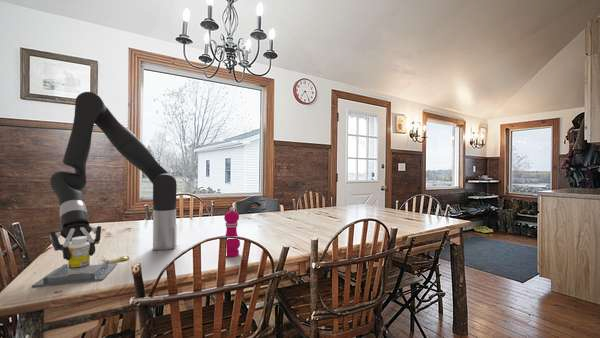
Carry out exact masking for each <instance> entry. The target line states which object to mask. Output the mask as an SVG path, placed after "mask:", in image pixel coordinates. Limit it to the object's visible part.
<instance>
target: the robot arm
mask: <svg viewBox="0 0 600 338" xmlns="http://www.w3.org/2000/svg"><path fill="white" fill-rule="evenodd" d="M72 124H73V125H72V128H71V133H70V135H69V136H70V137H69V139H68V143H67V146H66V150H65V152H64V156H63V159H62V163H63V164H64V165H65V166H67V167H70V168H73V169H74V172H68V171H56V172H54V173H53V174H52V175H51V177H50V178H49V183H50V187H51V189H52V191H53V192H54V194H55V196H56V198H58V203H59V220H60V226H61V230H60V231H57V232H55V231H52V232H50V234H49V240H50V242H51V244H52V247H53V249H54V251H62V258H63V260H65V261H68V260H69V259H70V254H69V247H68V246H69V245H70V244H71V243H72V242H71V241H72V238H74V237H79V236H86V237H87V242H89V243H90V257H91V256H94V254H95V253H96V246H95V245H98V244H99V243H100V241H101V236H102V235H101V233H102V226H100V225H97V227H93V226H91V225H90V221H89V220H90V219H89V215H88V214H89V213H88V211H87V206H86V203H85V198H84V194H83V192H82V190H84V189H85V187H86V186H87V172H86V171H87V162H88V158H89V155H90V149H91V146H92V145H91V144H92V136H93V130H94V126H95V125H96V126H97V127H98V128H99V129H100V130H101V131H102V132H103V133H104V135H105V136H106V138H107V139H108V141H109V142H110V144H111V145H112V146H113V147H114V148H115V149H116V150H117V152H118V153H120V154H121V156H123V158H124V159H125V160H126V161H128V162H129V163H130V164H131V165H133V166H134V167H135V168H137V169H138V170H139V171H141V172H142V173H143V174H144V175H145V176H146V178H147V179H148V180H149V181H150V182H151V184H152V207H153V208H152V212H153V213H152V216H153V217H152V250H155V251H166V250H171V249H176V247H177V242H178V241H177V238H178V237H177V236H178V234H177V231H178V230H177V229H178V228H177V189H178V188H177V187H178V185H177V180H176V178H175V177H174V175H172V174H171V173H169V172H168V171H167V170H166V169H165V168H164V167H163V166H162V165H161V164H159V162H158V161H157V160H156V158H155V157H154V155H153V154H152V153H151V151H150V150H149V149H148V147H146V146H145V144H144V143H143V142H142V141H141V140H140V139H139V137H138V136H136V135H135V133H133V132H132V131H131V130H130V129H129V128H128V127H126V126H124V124H122V123H121V122H120V121H119V120H118V119H117V118H116V117H115V115H114V114H113V113H112V112H111V111H110V109H109V108H108V105H106V103H105V101H104V99H103V98H101V96H100V95H99V94H97V93H95V92H93V91H92V92H91V91H84V92H81V93H79V94H78V95H77V97H76V98H75V105H74V116H73V122H72ZM91 232H92V234H94V235H95V238H94V239H93V237H92V236H91V234H90V233H91ZM60 236H61V237H62V238H64V242H63V244H62V243H61V242H60V241H59V238H60Z"/></svg>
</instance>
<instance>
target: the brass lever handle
mask: <svg viewBox="0 0 600 338" xmlns="http://www.w3.org/2000/svg"><path fill="white" fill-rule="evenodd" d="M129 260H130V256H129V255H125V256H121V257H119V258H118V257H117V258H114V259H110V260H107V261H108V264H111V263H118V262H126V261H129Z"/></svg>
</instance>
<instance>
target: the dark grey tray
mask: <svg viewBox="0 0 600 338" xmlns="http://www.w3.org/2000/svg"><path fill="white" fill-rule="evenodd" d="M108 261H109V260H104V261H103V262H102V263H101V264H91V265H89V266H88V267H87V268H84V269H81V270H69V268H68V263H64V264H62V265H61V266H59V267H57V268H56V269H54V270H53V271H51V272H49V273H48V274H46V275H45V276H44V277H42V278H40V279H39V280H38V281H36V282H35V283H33V284H32V285H31V288H40V287H48V286H58V285H67V284H79V283H80V284H81V283H85V282H86V283H87V282H90V283H91V282H97V281H103V280H104V279H106V278H107V277H108V275H109V274H110V273H111V272H112V271H113V270H114V269H115V268H116V267H117V266H118V262H115V263H111V264H109V263H108Z"/></svg>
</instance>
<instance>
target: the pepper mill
mask: <svg viewBox="0 0 600 338" xmlns="http://www.w3.org/2000/svg"><path fill="white" fill-rule="evenodd" d="M223 219H224V221H225V227H226V233H225V236H238V232H237V229H238V228H237V227H238V221H239V219H240V214H239V213H238V211H235V207H232V206H231V207H229V210H228V211H227V212H226V213H224V217H223ZM225 236H224V237H225ZM238 237H239V236H238ZM240 246H241V241H240V239H239V240H238V239H228V240H227V257H226V258H234V257H238V256H239V254H240V250H239V248H240Z"/></svg>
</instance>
